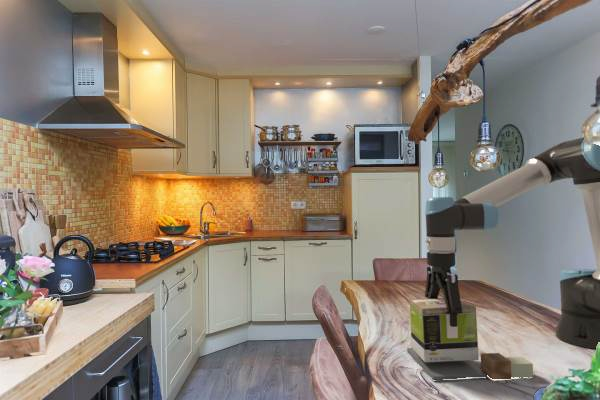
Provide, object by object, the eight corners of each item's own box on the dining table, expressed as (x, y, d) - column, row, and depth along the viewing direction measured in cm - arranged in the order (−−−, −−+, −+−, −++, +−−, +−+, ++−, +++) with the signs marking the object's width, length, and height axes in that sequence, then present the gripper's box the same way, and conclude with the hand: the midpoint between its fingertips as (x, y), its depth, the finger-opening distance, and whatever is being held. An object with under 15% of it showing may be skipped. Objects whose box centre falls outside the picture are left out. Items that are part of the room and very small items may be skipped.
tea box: (460, 346, 103) (459, 296, 103) (479, 361, 93) (477, 306, 93) (410, 348, 102) (409, 297, 103) (424, 363, 92) (422, 307, 93)
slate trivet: (451, 350, 107) (451, 346, 107) (486, 378, 89) (486, 374, 89) (407, 351, 106) (407, 348, 106) (433, 381, 88) (433, 376, 88)
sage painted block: (522, 372, 93) (522, 356, 93) (533, 379, 89) (532, 363, 89) (500, 372, 93) (500, 357, 93) (510, 380, 89) (509, 364, 89)
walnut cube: (499, 371, 93) (498, 352, 93) (511, 381, 88) (510, 361, 88) (481, 372, 93) (480, 353, 93) (492, 381, 88) (491, 361, 88)
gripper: (412, 247, 109) (414, 318, 109) (447, 257, 87) (449, 347, 86) (435, 246, 110) (437, 317, 109) (476, 256, 87) (478, 346, 87)
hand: (442, 330), depth 98 cm, fingers closed on tea box, 10 cm apart
